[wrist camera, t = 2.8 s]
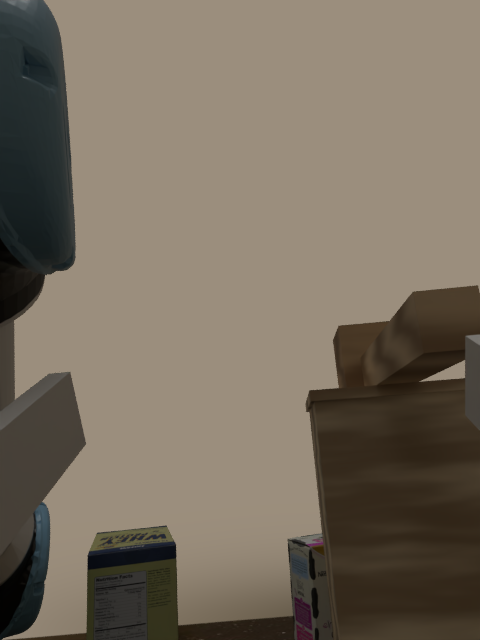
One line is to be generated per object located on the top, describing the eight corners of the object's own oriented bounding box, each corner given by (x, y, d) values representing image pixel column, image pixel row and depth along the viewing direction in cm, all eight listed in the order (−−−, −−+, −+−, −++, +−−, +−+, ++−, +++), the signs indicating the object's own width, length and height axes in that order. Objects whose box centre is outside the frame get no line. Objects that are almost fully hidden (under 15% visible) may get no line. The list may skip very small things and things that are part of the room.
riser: (602, 928, 24) (486, 376, 32) (365, 921, 26) (309, 390, 34) (500, 767, 37) (434, 394, 44) (343, 767, 38) (305, 403, 46)
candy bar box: (327, 746, 40) (308, 545, 45) (299, 718, 45) (283, 538, 49) (421, 708, 45) (395, 530, 49) (387, 686, 49) (366, 524, 54)
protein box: (169, 640, 65) (167, 524, 69) (181, 694, 51) (177, 543, 55) (93, 653, 63) (95, 531, 67) (83, 714, 48) (86, 553, 52)
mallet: (525, 344, 20) (497, 224, 22) (390, 355, 21) (372, 238, 23) (403, 395, 44) (393, 334, 45) (340, 400, 44) (333, 340, 46)
